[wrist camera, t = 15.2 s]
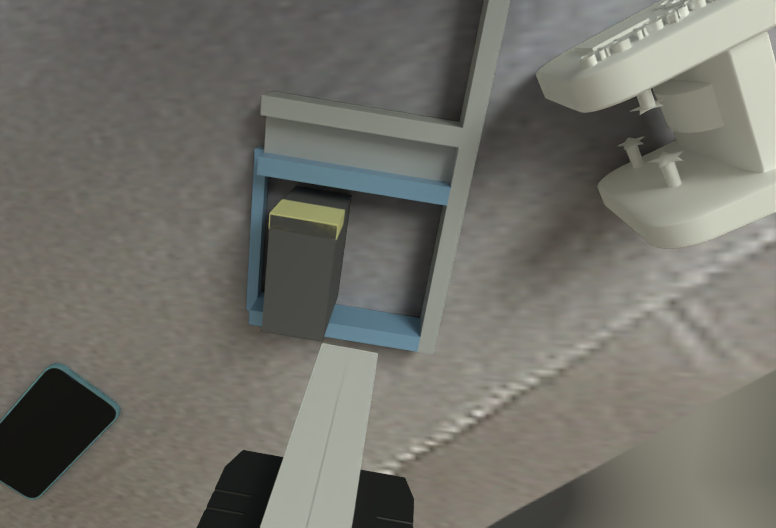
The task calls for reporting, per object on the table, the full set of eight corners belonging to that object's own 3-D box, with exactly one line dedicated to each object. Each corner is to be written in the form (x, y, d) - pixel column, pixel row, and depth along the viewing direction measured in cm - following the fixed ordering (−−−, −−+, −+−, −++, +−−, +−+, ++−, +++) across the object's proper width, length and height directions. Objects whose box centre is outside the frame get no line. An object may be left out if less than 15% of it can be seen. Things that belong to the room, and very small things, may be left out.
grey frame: (273, -111, 31) (259, -126, 28) (518, -70, 31) (528, -81, 28) (250, 304, 41) (237, 322, 38) (432, 333, 41) (433, 354, 39)
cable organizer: (583, 205, 37) (651, 270, 26) (524, 63, 34) (573, 70, 23) (810, 100, 33) (995, 124, 23) (768, -70, 30) (961, -135, 19)
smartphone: (123, 412, 45) (34, 503, 50) (129, 405, 46) (41, 494, 51) (51, 361, 44) (-35, 459, 48) (59, 354, 45) (-26, 451, 49)
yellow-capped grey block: (295, 184, 37) (269, 212, 31) (352, 193, 37) (338, 224, 31) (286, 286, 41) (260, 331, 34) (338, 294, 41) (323, 341, 34)
